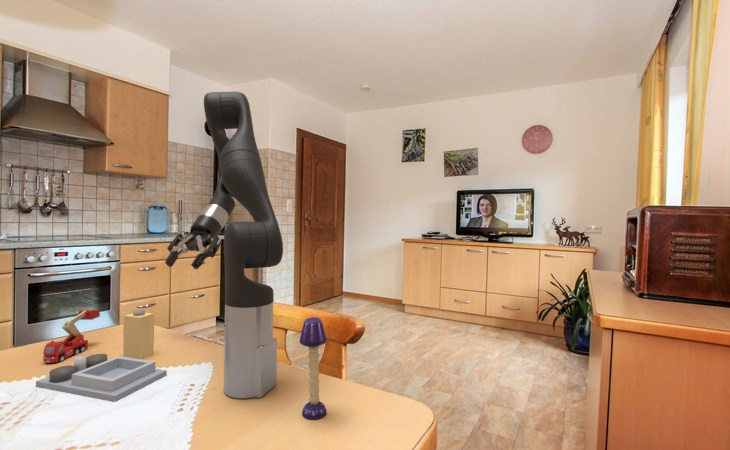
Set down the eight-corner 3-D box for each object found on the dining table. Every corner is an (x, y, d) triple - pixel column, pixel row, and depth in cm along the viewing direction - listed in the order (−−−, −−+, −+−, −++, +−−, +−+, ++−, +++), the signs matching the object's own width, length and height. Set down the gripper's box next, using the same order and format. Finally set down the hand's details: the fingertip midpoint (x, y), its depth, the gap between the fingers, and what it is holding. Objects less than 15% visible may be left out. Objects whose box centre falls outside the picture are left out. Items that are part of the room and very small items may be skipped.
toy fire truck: (40, 364, 83) (40, 322, 83) (87, 344, 97) (87, 307, 97) (55, 364, 83) (55, 322, 83) (100, 344, 97) (100, 307, 97)
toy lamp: (313, 424, 61) (315, 324, 61) (292, 415, 64) (294, 319, 63) (331, 411, 65) (332, 318, 65) (311, 404, 68) (312, 314, 68)
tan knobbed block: (153, 353, 91) (154, 310, 91) (139, 359, 87) (140, 314, 87) (137, 351, 92) (138, 308, 92) (123, 357, 89) (123, 312, 88)
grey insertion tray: (166, 375, 79) (166, 356, 79) (115, 401, 67) (115, 379, 67) (95, 363, 84) (95, 346, 84) (35, 386, 73) (36, 366, 73)
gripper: (183, 213, 109) (151, 255, 99) (225, 214, 105) (196, 259, 95) (196, 230, 114) (166, 272, 104) (236, 232, 111) (209, 276, 100)
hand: (180, 266), depth 99 cm, fingers open, 8 cm apart
